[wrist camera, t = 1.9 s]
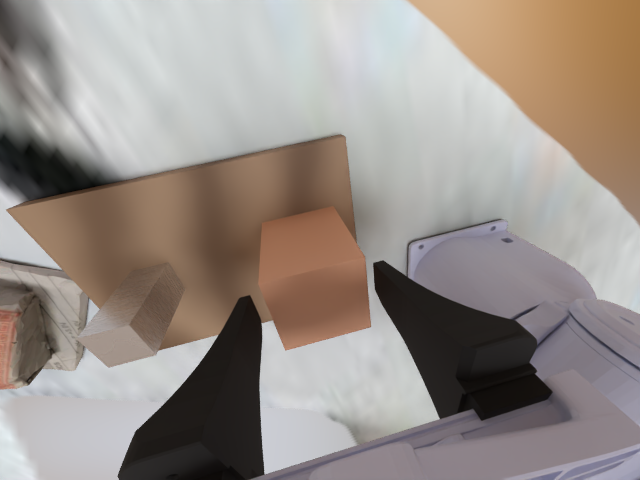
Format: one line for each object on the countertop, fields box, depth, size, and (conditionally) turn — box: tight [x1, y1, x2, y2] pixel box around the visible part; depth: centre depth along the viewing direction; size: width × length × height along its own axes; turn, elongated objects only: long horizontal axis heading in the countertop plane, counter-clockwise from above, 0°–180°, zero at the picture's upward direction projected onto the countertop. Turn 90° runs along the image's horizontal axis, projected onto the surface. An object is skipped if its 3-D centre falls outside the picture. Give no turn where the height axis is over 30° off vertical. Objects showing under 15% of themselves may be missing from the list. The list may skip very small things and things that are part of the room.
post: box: [76, 262, 185, 367], centre depth 15 cm, size 3×3×6 cm
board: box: [6, 135, 357, 351], centre depth 18 cm, size 20×14×1 cm
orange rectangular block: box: [258, 206, 371, 351], centre depth 15 cm, size 5×5×7 cm
